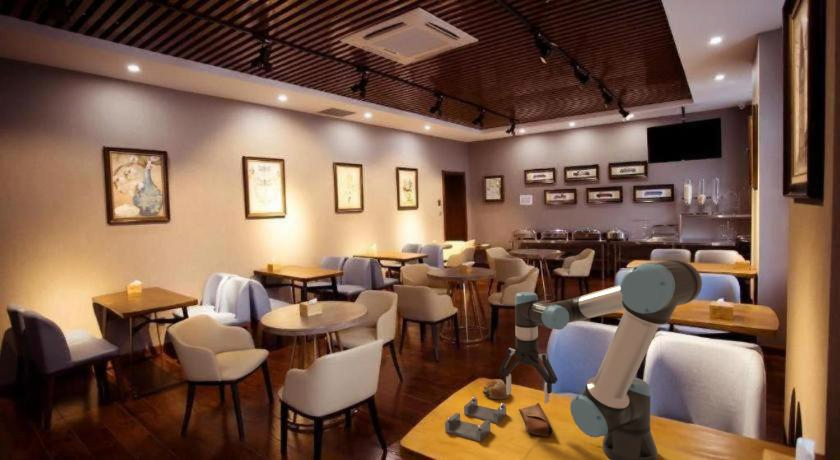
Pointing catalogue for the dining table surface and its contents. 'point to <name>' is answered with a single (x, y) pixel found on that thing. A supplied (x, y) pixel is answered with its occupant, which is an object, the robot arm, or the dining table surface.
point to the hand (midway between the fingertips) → (527, 397)
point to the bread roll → (495, 389)
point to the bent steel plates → (472, 430)
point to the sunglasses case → (536, 420)
